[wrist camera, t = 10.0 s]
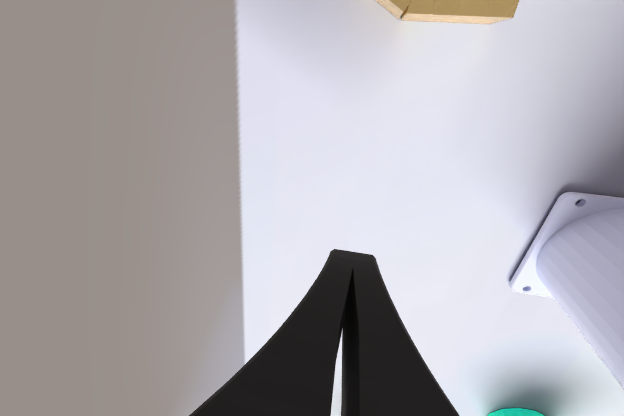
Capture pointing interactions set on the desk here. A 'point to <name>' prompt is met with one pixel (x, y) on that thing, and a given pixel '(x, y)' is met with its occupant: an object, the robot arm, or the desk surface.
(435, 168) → the desk surface
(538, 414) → the candle
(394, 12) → the wide wooden arch
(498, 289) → the desk surface
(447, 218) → the desk surface
